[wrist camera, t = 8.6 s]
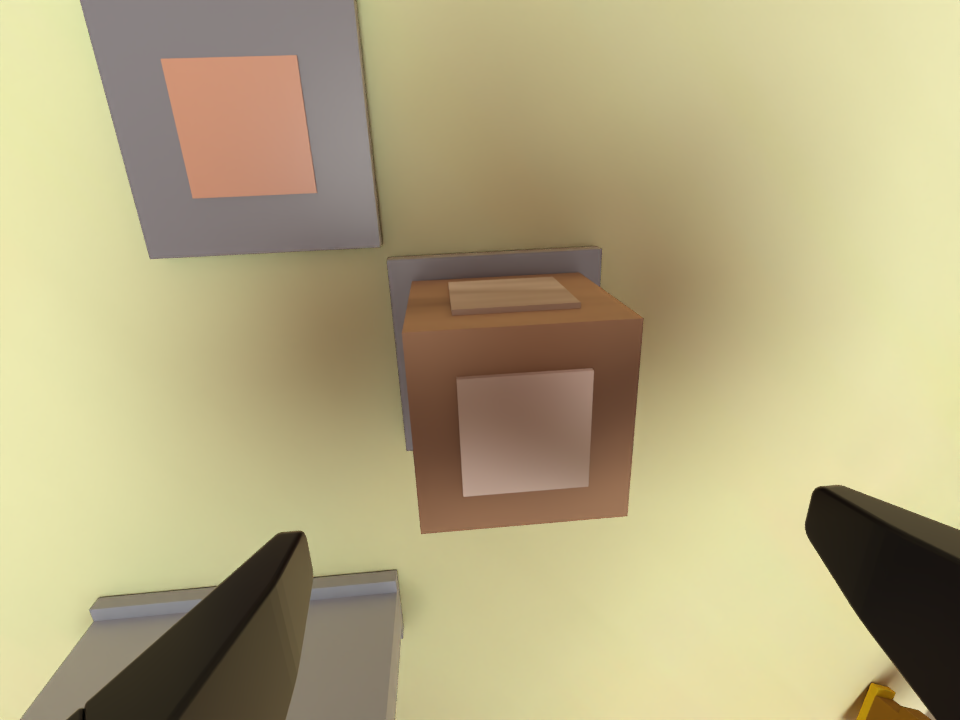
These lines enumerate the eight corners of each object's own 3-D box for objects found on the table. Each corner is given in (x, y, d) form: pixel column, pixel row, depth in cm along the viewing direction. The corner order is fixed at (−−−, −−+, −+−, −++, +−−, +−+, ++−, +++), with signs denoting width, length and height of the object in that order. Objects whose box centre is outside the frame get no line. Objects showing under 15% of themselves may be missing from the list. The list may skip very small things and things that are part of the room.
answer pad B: (382, 244, 16) (380, 247, 16) (160, 256, 16) (148, 259, 15) (354, -12, 14) (351, -21, 13) (90, -8, 14) (74, -16, 13)
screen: (121, 655, 22) (12, 824, 16) (98, 597, 20) (-29, 759, 15) (403, 626, 22) (393, 779, 17) (396, 570, 21) (383, 713, 16)
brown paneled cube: (574, 420, 19) (629, 519, 13) (424, 431, 18) (420, 538, 13) (579, 267, 17) (646, 313, 11) (411, 276, 16) (400, 328, 11)
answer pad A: (588, 428, 20) (593, 437, 19) (407, 442, 19) (406, 452, 19) (596, 246, 17) (602, 249, 16) (388, 257, 17) (386, 260, 16)
